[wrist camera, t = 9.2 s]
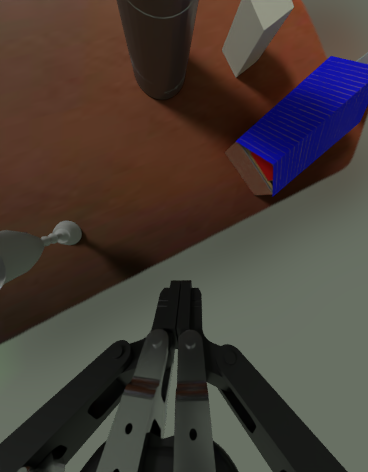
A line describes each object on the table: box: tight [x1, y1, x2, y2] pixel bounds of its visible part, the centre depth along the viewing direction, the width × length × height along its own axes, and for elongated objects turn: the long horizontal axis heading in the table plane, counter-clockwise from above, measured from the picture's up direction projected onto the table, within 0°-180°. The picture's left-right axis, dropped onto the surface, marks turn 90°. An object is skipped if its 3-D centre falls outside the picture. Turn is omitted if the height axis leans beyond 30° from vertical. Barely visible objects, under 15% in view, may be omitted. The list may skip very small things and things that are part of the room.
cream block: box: [222, 0, 294, 77], centre depth 26 cm, size 5×5×9 cm
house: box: [225, 56, 368, 197], centre depth 29 cm, size 12×20×12 cm, turn 131°
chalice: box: [0, 221, 82, 289], centre depth 25 cm, size 7×7×18 cm
